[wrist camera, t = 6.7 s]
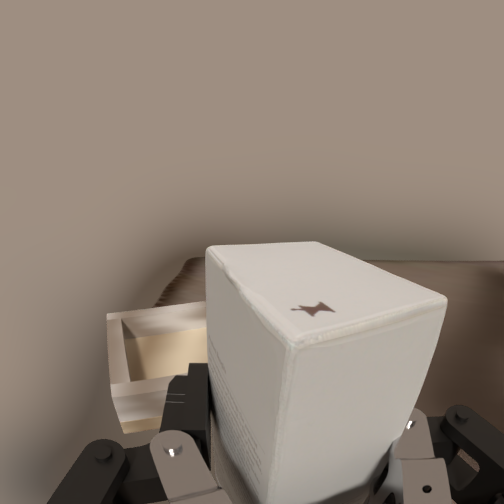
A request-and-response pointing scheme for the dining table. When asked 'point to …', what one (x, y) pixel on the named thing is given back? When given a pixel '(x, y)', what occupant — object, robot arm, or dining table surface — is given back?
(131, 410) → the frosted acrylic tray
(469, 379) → the dining table surface
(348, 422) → the skincare box
